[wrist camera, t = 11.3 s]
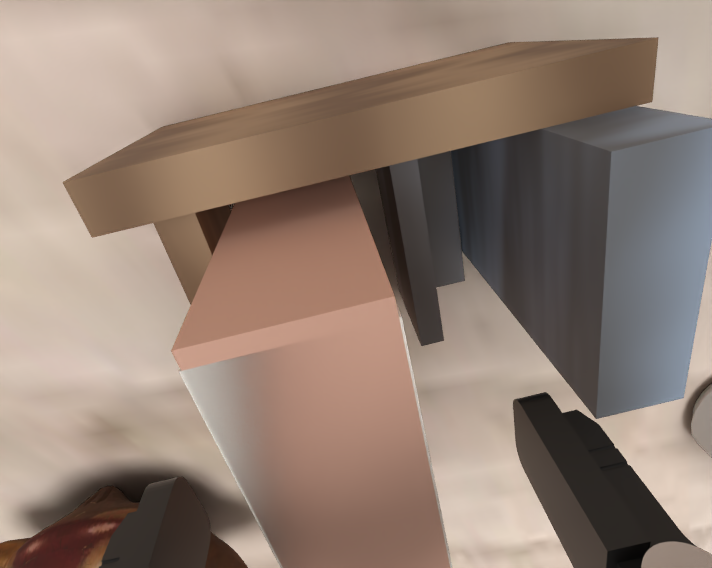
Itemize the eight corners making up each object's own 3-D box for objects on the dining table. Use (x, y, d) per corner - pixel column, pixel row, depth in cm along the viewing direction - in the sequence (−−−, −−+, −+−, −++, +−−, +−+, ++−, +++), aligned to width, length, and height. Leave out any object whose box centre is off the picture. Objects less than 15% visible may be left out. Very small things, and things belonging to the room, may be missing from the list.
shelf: (508, 42, 19) (771, 33, 8) (520, 294, 25) (682, 476, 14) (162, 126, 19) (-13, 223, 8) (255, 358, 25) (221, 586, 14)
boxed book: (338, 144, 20) (397, 295, 8) (377, 312, 24) (455, 581, 12) (250, 166, 20) (168, 351, 8) (303, 330, 24) (306, 616, 12)
